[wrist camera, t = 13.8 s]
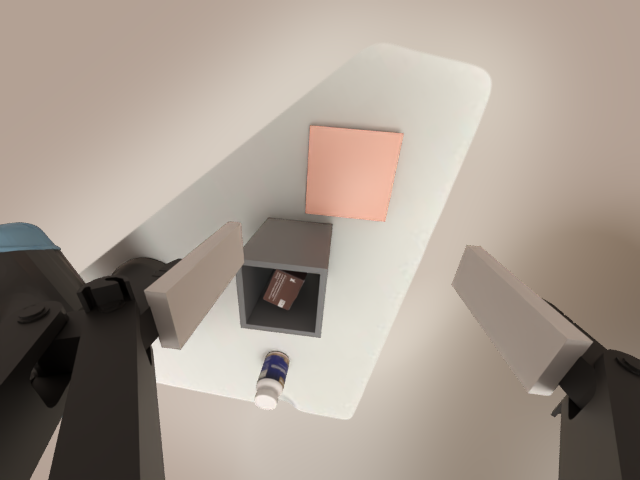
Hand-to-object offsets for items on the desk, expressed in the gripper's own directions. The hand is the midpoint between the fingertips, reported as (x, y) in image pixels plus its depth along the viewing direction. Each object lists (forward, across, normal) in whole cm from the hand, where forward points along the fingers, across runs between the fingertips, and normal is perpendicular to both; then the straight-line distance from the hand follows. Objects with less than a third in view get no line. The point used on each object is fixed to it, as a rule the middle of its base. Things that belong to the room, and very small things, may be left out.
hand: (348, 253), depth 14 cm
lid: (+24, +1, 0) cm, 24 cm away
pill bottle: (+25, -11, -43) cm, 51 cm away
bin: (+25, -7, -14) cm, 29 cm away
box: (+25, -7, -14) cm, 29 cm away
